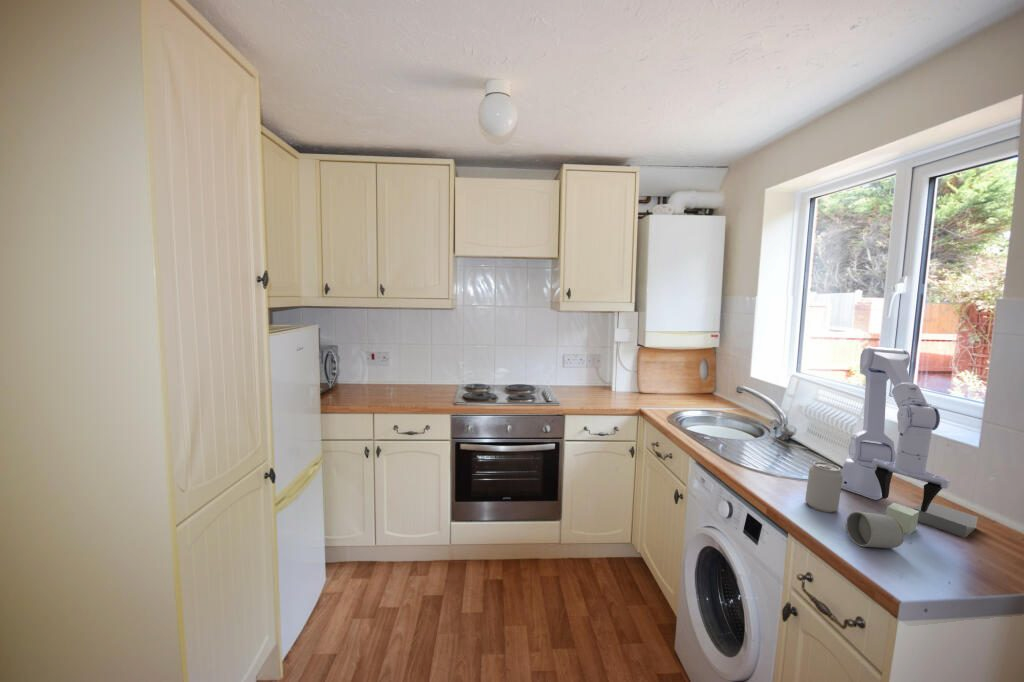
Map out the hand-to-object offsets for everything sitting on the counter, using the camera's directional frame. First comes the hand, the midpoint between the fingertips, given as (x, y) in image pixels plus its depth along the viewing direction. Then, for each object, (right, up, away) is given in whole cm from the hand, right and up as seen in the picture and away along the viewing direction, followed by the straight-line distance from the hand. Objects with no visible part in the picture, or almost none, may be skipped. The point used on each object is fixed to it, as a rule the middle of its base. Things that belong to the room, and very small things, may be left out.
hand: (903, 504), depth 110 cm
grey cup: (-15, -7, -7) cm, 18 cm away
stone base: (+14, -7, +4) cm, 16 cm away
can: (-14, -5, +10) cm, 18 cm away
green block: (0, -6, +1) cm, 6 cm away
